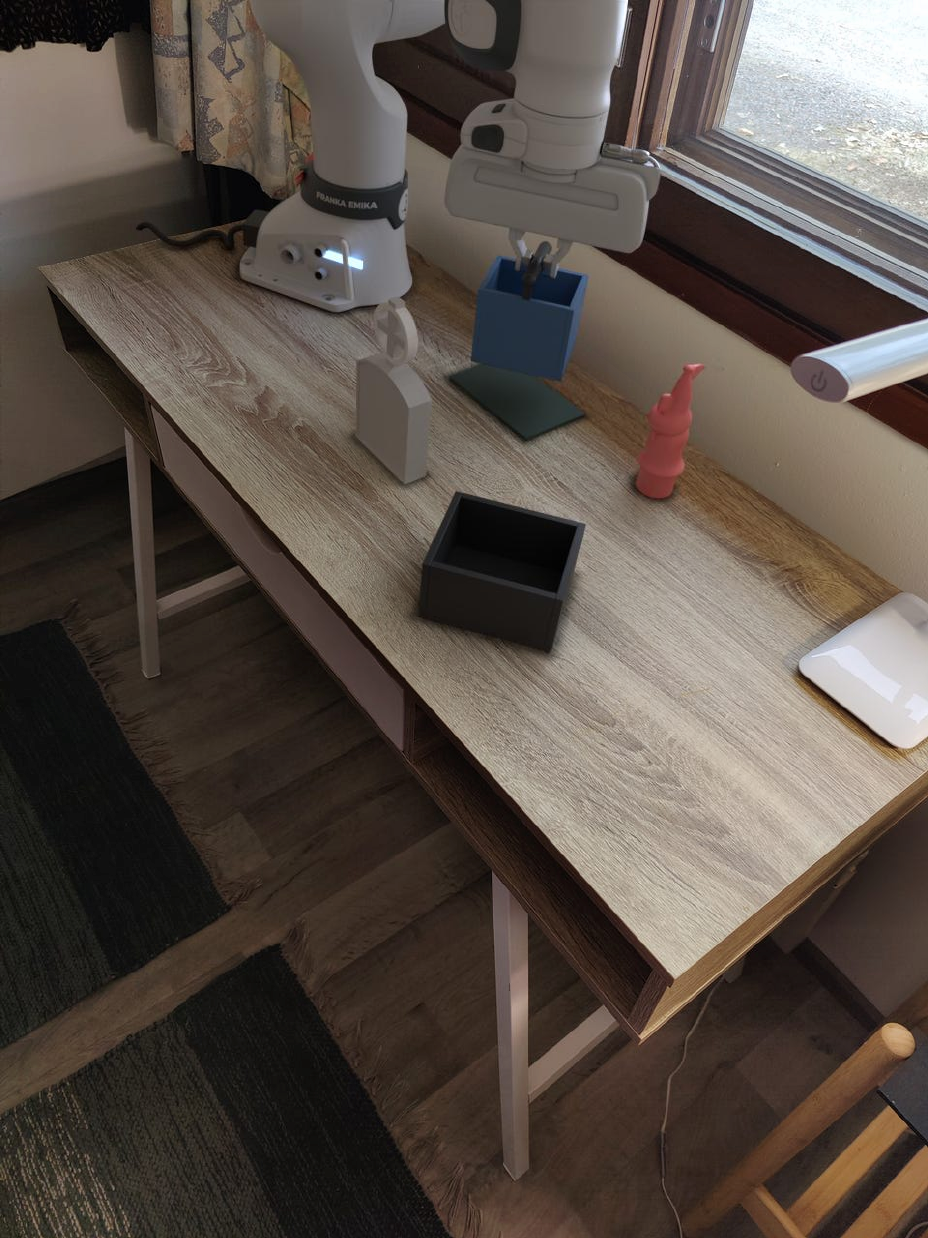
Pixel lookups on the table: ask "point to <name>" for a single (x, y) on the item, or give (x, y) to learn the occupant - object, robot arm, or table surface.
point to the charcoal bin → (500, 570)
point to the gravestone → (394, 396)
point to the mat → (517, 399)
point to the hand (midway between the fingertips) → (535, 271)
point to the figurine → (667, 437)
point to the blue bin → (528, 317)
